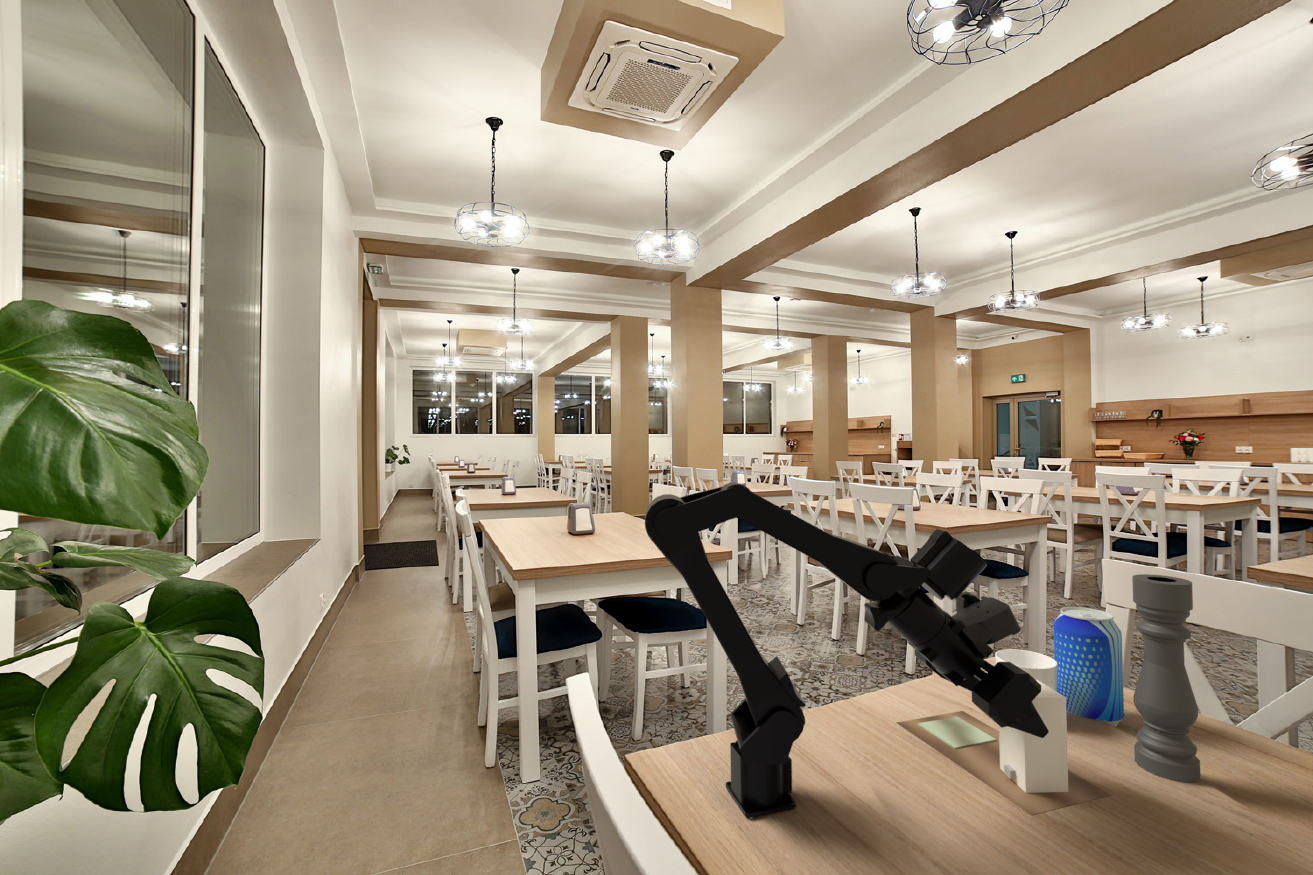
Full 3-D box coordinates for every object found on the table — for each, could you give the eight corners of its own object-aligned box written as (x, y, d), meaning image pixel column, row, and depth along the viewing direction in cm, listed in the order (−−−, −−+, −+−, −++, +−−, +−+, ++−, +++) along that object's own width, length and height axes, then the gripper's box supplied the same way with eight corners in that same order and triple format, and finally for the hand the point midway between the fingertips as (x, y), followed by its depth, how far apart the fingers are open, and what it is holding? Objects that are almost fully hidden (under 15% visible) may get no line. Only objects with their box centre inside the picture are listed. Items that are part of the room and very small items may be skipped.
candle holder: (1214, 797, 68) (1208, 586, 68) (1154, 791, 69) (1149, 584, 70) (1178, 768, 74) (1173, 574, 74) (1123, 763, 75) (1118, 573, 76)
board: (1032, 828, 63) (1030, 773, 63) (896, 732, 84) (895, 691, 84) (1112, 807, 66) (1111, 755, 67) (962, 720, 88) (961, 681, 88)
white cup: (998, 731, 84) (996, 662, 84) (995, 708, 91) (993, 645, 91) (1063, 743, 81) (1061, 672, 81) (1055, 719, 88) (1053, 653, 88)
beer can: (1043, 711, 90) (1041, 609, 90) (1075, 700, 94) (1073, 602, 94) (1104, 735, 82) (1101, 624, 83) (1136, 723, 86) (1133, 616, 86)
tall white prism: (1020, 792, 67) (1018, 698, 67) (995, 768, 72) (993, 680, 72) (1073, 791, 67) (1071, 697, 67) (1044, 767, 72) (1042, 679, 72)
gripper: (1019, 599, 61) (1127, 701, 60) (934, 562, 79) (1016, 640, 79) (947, 675, 60) (1055, 778, 60) (879, 621, 79) (961, 699, 79)
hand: (1019, 715), depth 70 cm, fingers open, 9 cm apart
